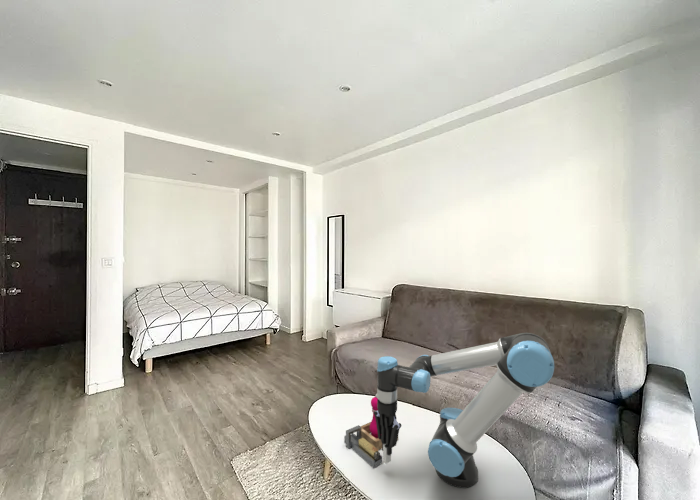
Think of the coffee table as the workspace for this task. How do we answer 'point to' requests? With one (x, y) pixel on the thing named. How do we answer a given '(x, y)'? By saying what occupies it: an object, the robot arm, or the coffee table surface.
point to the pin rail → (353, 443)
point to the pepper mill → (373, 423)
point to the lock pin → (369, 449)
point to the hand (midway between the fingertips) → (387, 461)
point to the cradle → (369, 437)
